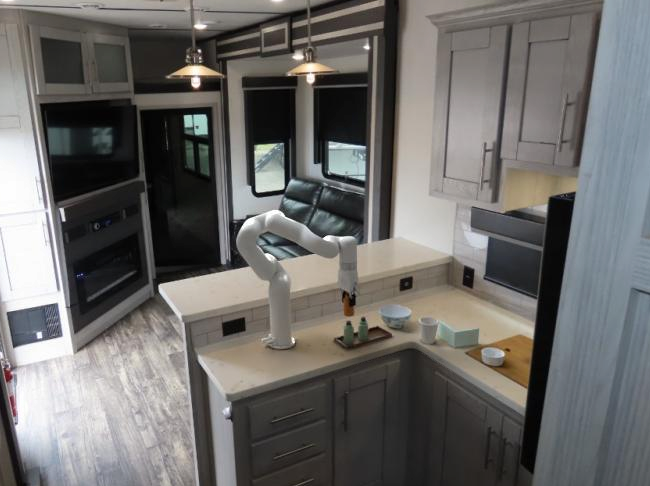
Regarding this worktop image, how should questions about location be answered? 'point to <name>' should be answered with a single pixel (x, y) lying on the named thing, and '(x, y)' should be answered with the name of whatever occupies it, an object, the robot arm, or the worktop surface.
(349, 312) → the amber bottle
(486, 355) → the ramekin
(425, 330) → the dixie cup
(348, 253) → the robot arm
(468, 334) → the l-shaped corner panel
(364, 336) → the green bottle
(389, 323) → the chinaware
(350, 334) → the green bottle
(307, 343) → the worktop surface
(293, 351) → the worktop surface
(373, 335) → the tray
